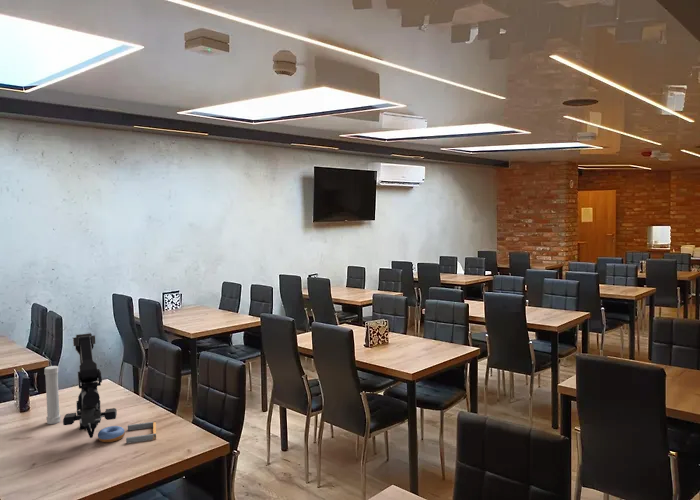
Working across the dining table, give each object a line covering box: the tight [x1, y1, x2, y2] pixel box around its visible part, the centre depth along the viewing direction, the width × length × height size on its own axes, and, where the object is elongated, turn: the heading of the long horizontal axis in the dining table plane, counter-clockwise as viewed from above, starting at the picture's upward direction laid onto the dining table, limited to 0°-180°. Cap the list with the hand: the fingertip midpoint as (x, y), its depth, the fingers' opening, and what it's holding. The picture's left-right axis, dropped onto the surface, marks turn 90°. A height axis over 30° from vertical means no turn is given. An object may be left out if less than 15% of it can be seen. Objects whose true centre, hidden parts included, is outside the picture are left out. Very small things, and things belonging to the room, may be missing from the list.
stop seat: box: [125, 421, 157, 444], centre depth 222 cm, size 11×15×2 cm
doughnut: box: [97, 425, 125, 443], centre depth 218 cm, size 10×10×5 cm
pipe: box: [43, 355, 62, 425], centre depth 236 cm, size 6×6×30 cm
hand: (91, 437), depth 215 cm, fingers closed
